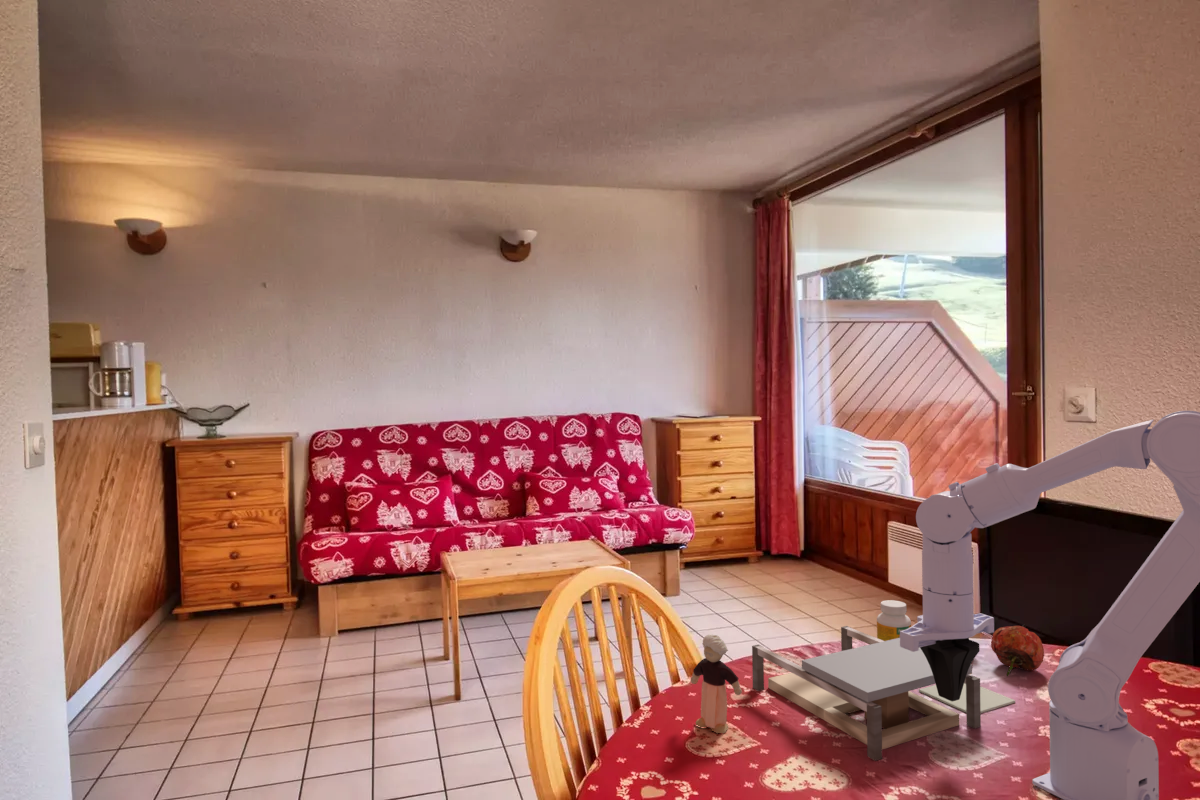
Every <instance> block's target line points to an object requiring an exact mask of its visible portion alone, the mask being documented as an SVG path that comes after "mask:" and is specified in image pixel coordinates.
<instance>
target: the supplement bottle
mask: <svg viewBox="0 0 1200 800" xmlns="http://www.w3.org/2000/svg"><path fill="white" fill-rule="evenodd" d="M907 609H908V608H907V603H905V602H904V601H900V600H894V599H890V600H889V599H887V600H882V601H881V602H880V612H881V613H878V615H877V616H876V638H878V639H880V640H883V641H888V640H892V639H896V638H900V631H903V630H906V629H908V628H910V627H912V621H911V619H910V617H909V616H908V615H907V612H908V611H907Z"/></svg>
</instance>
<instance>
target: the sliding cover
mask: <svg viewBox="0 0 1200 800" xmlns="http://www.w3.org/2000/svg"><path fill="white" fill-rule="evenodd" d="M801 667H802V669H803V670H805V671H807V672H809V673H811V674H813V675H815V676H817V677H819V678H821V679H823V680H825V681H827V682H829V683H831V684H833V685H835V686H837V687H839V688H841V689H843V690H845V691H847V692H849V693H851V694H853V695H855V696H857V697H858V698H860V699H862V700H864V701H866V702H871V701H874V700H878V699H882V698H885V697H889V696H893V695H896V694H900V693H903V692H907V691H910V692H912V691H915V690H919V689H922V688H926V687H929V686H933V685H936V683H935V680H934V676H933V673H932V670H931V668H930V665H929V663H928V661H927V659H926V657H925V655H924V653H923V652H922V650H921V648H920V647H919V650H918V651H915V652H912V651H910V650H907V649H905V648H902V647H900V638H896V639H892V640H888V641H883V642H879V643H875V644H865V645H861V646H857V647H855V648H853V647H852V649H849V650H844V651H841V650H840V651H835V652H832V653H828V654H823V655H818V656H815V657H814V656H813V657H809V658H806V659H802V660H801ZM972 674H973V664H971V665H970V667H969V670H968V672H967V675H972Z"/></svg>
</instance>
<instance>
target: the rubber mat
mask: <svg viewBox="0 0 1200 800" xmlns="http://www.w3.org/2000/svg"><path fill="white" fill-rule="evenodd" d="M918 692H919V693H921V694H924V695H926V696H929V697H930V698H933V699H935V700H937V701H940V702H941V703H944V704H946V705H947V706H951V707H953V708H955V709H957V710H959V711H961V712H962V713H963V712H964V713H966V684H965V683H964V685H963V689H962V692H961V696H960V699H959V700H956V701H950V700H947V699H945V698H943V697H941V696H939V694H938V691H937V687H936V684H932V685H929V686H925V687H922V688H918ZM1015 703H1016V700H1015V699H1013V698H1010V697H1008V696H1005V695H1003V694H1001V693H998V692H995V691H993V690H991V689H988V688H986V687H983V686H981V685H980V712H981V714H983V713H986V712H990V711H993V710H996V709H998V708H1002V707H1004V706H1009V705H1012V704H1015Z"/></svg>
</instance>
